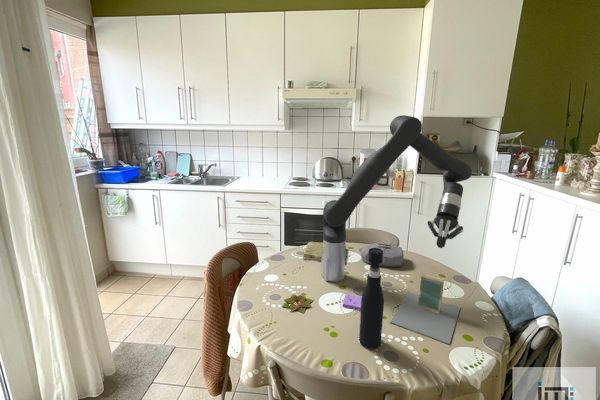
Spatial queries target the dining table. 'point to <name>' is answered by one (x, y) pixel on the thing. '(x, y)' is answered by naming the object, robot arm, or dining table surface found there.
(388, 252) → the small grey backpack
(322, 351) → the dining table surface
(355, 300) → the sponges
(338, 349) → the dining table surface
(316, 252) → the decorative tile
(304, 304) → the green leafy rosette
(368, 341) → the black water bottle
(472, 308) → the dining table surface
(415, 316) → the rubber mat
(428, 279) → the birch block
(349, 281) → the dining table surface
